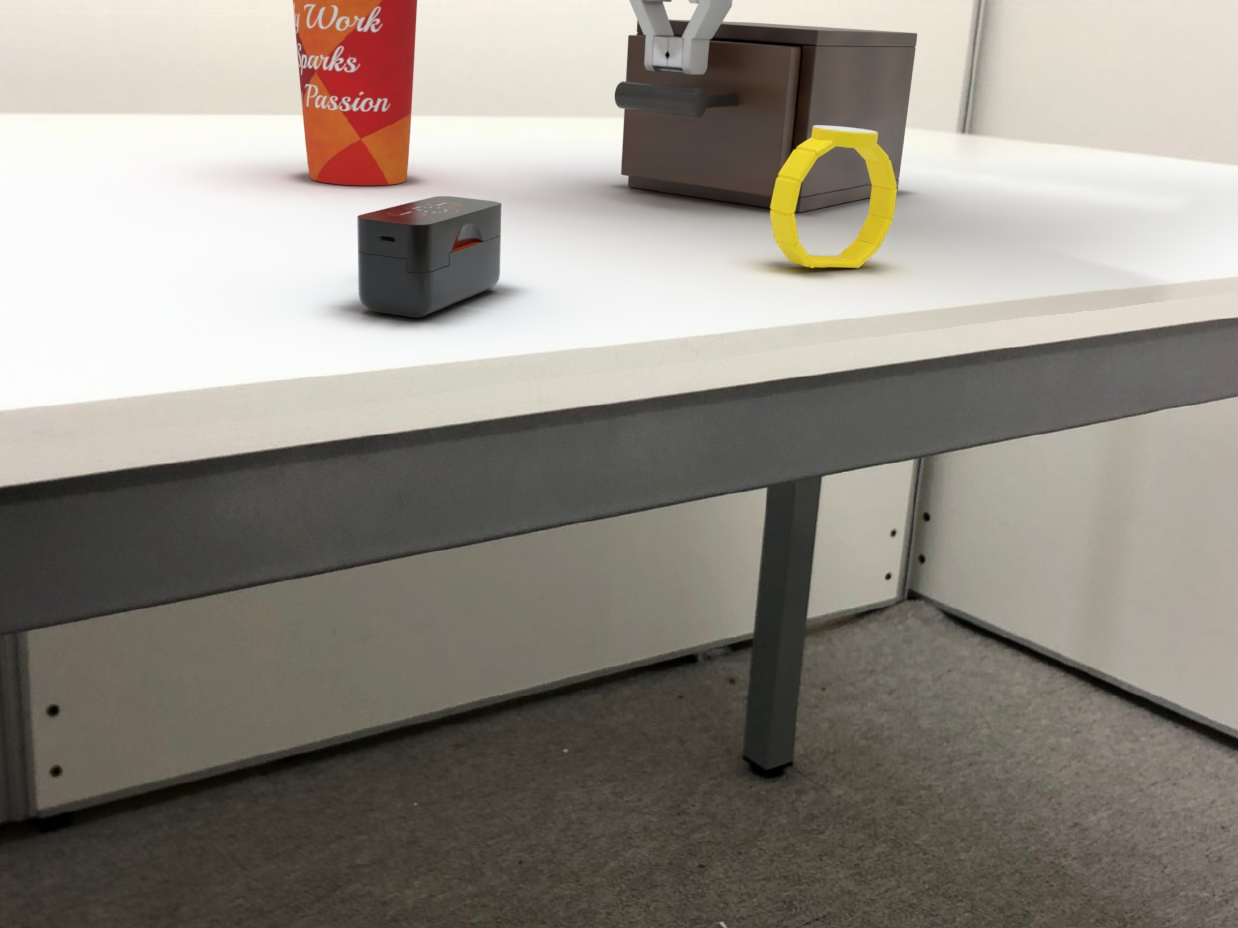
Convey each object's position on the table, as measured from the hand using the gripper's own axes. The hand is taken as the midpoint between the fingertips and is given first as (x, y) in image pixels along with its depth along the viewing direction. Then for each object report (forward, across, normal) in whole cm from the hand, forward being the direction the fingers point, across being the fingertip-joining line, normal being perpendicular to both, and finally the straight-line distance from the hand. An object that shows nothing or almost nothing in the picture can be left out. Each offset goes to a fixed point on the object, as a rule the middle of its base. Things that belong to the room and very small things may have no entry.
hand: (675, 72), depth 67 cm
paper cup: (+7, +17, +7) cm, 20 cm away
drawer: (+6, 0, -7) cm, 9 cm away
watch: (+7, -14, +9) cm, 18 cm away
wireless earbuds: (+7, -6, +26) cm, 27 cm away
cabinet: (+7, 0, -11) cm, 13 cm away
